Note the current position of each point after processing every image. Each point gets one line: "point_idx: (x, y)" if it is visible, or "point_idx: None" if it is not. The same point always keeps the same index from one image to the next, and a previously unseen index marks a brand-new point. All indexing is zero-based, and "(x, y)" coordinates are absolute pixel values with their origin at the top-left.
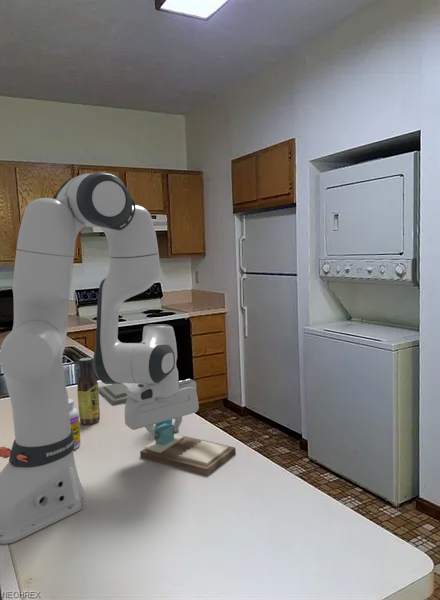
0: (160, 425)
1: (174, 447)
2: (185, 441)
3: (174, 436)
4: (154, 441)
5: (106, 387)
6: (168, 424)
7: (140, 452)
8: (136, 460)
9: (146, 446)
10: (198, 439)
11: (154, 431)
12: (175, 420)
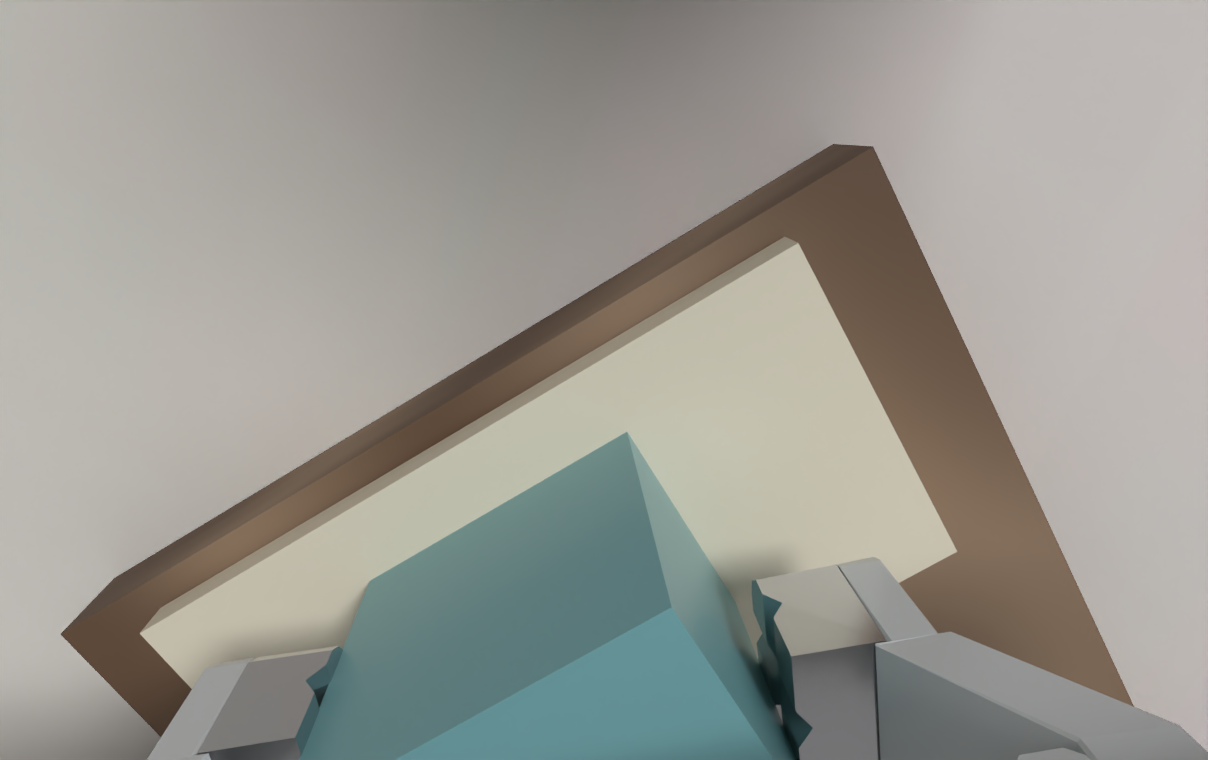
0: (496, 713)
1: None
2: None
3: (804, 477)
4: (369, 501)
5: None
6: (736, 747)
7: (75, 633)
8: (40, 644)
9: (169, 633)
10: (1102, 668)
11: (291, 748)
12: (1016, 735)
